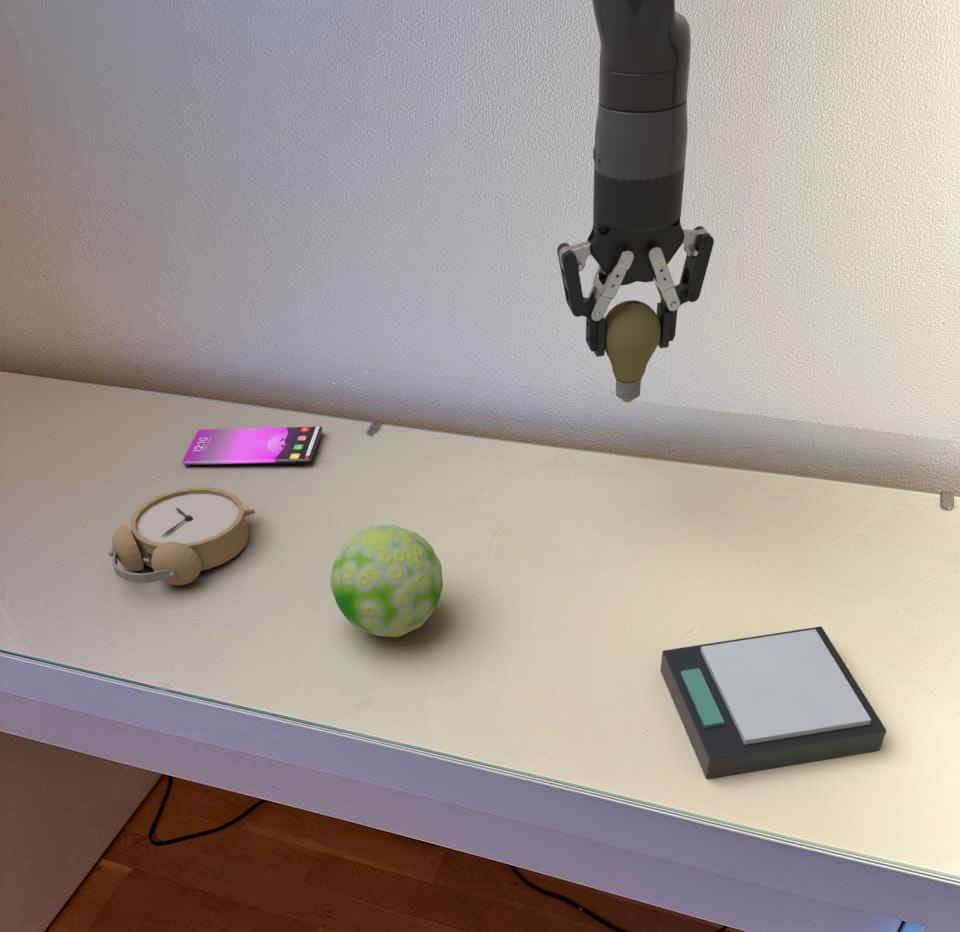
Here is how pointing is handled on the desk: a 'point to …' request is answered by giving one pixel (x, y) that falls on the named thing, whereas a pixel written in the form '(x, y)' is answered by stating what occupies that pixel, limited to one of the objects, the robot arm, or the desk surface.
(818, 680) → the scale
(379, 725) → the desk surface
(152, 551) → the alarm clock
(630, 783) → the desk surface
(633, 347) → the light bulb
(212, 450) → the smartphone
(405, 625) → the decorative ball
